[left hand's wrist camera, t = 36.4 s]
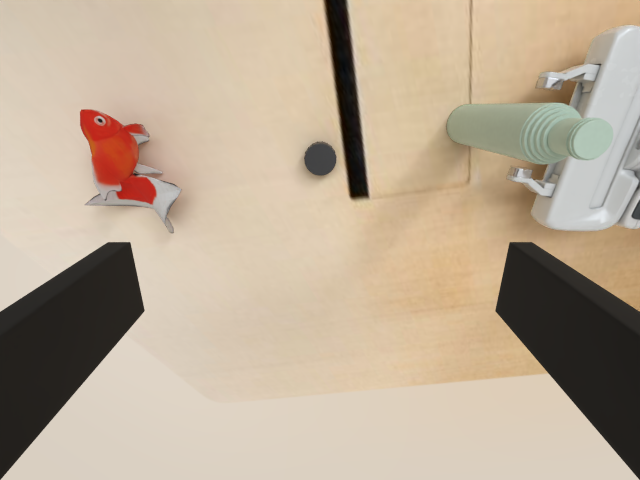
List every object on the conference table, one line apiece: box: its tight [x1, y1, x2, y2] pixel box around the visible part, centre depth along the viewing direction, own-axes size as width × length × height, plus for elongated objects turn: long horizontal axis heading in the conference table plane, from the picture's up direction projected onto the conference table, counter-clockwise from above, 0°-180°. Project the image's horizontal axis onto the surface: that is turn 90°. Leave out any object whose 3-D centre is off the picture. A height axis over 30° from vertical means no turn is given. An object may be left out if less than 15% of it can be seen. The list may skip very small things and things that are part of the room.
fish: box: [80, 110, 182, 233], centre depth 41 cm, size 11×16×10 cm
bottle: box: [447, 103, 613, 164], centre depth 32 cm, size 4×4×21 cm
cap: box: [304, 142, 336, 175], centre depth 43 cm, size 4×4×2 cm
